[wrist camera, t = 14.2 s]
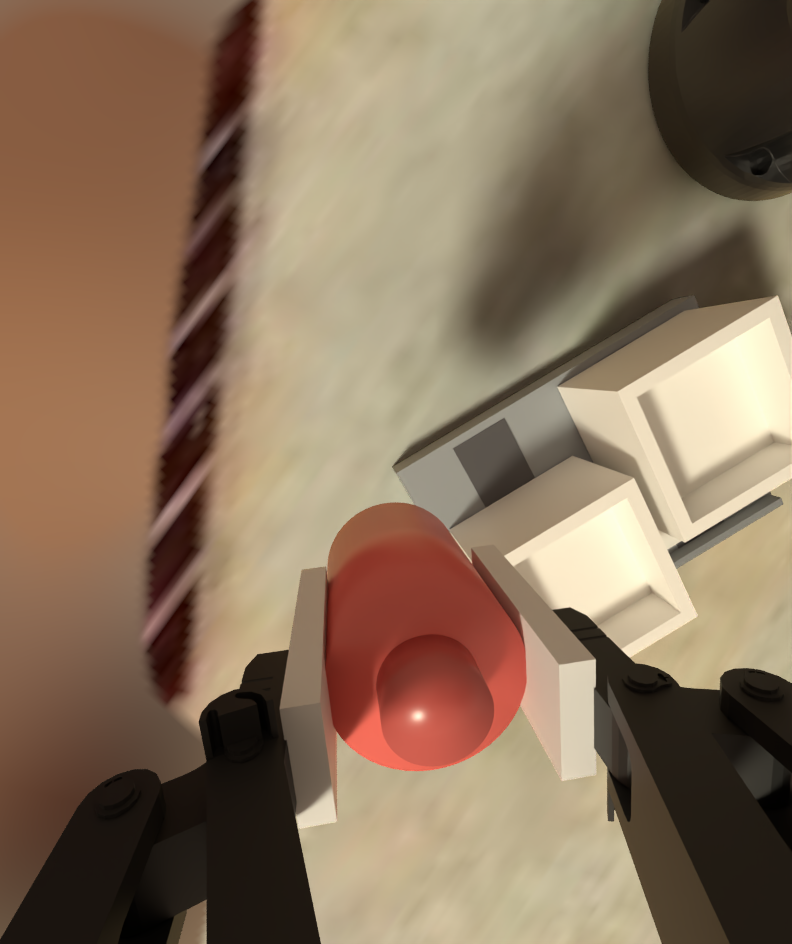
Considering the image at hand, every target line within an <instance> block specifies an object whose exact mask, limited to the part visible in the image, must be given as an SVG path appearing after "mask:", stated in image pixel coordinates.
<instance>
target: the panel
mask: <svg viewBox="0 0 792 944" xmlns="http://www.w3.org/2000/svg"><path fill="white" fill-rule="evenodd" d="M698 308H699V306H698V303H697V301H696V298H695V295H691V296H686V297H681V298H676V299H672V300H670V301H669V302H667V303H665V304H664V305H662V306H660V307H659V308H657V309H655V310H654V311H652V312H650V313H649V314H647V315H645V316H644V317H642V318H640V319H639V320H637V321H635V322H634V323H632V324H630V325H628V326H627V327H625V328H623V329H622V330H620V331H618V332H617V333H615V334H613V335H612V336H610V337H608V338H607V339H605V340H603V341H602V342H600V343H598V344H597V345H595V346H593V347H592V348H590V349H588V350H587V351H585V352H583V353H582V354H580V355H578V356H577V357H575V358H573V359H572V360H570V361H568V362H567V363H565V364H563V365H562V366H560V367H558V368H557V369H555V370H553V371H552V372H550V373H548V374H547V375H545V376H543V377H542V378H540V379H538V380H537V381H535V382H533V383H532V384H530V385H528V386H527V387H525V388H523V389H522V390H520V391H518V392H517V393H515V394H513V395H512V396H510V397H508V398H507V399H505V400H503V401H502V402H500V403H498V404H497V405H495V406H493V407H492V408H490V409H488V410H486V411H485V412H483V413H481V414H480V415H478V416H476V417H475V418H473V419H471V420H470V421H468V422H466V423H465V424H463V425H461V426H460V427H458V428H456V429H455V430H453V431H451V432H450V433H448V434H446V435H445V436H443V437H441V438H440V439H438V440H436V441H435V442H433V443H431V444H430V445H428V446H426V447H425V448H423V449H421V450H420V451H418V452H416V453H415V454H413V455H411V456H410V457H408V458H406V459H405V460H403V461H401V462H400V463H398V464H396V465H395V466H393V467H392V468H393V469H394V471H395V473H396V474H397V476H398V478H399V479H400V481H401V483H402V484H403V486H404V488H405V489H406V491H407V493H408V494H409V496H410V498H411V499H412V501H413V503H414V504H415V506H418V507H421V508H423V509H425V510H427V511H429V512H430V513H432V514H433V515H435V516H436V517H437V518H438V519H439V520H440V521H441V522H442V523H443V524H444V525H445V526H446V528H447V529H448V530H450V529H451V528H453V527H455V526H456V525H458V524H460V523H461V522H463V521H465V520H466V519H468V518H470V517H471V516H473V515H475V514H476V513H478V512H479V511H481V510H483V509H484V508H486V507H488V506H489V505H491V504H493V503H494V502H496V501H498V500H499V499H501V498H503V497H504V496H506V495H508V494H509V493H511V492H513V491H514V490H516V489H518V488H519V487H521V486H523V485H524V484H526V483H528V482H529V481H531V480H533V479H534V478H536V477H538V476H539V475H541V474H543V473H544V472H546V471H548V470H549V469H551V468H553V467H554V466H556V465H558V464H559V463H561V462H563V461H564V460H566V459H568V458H569V457H571V456H575V457H578V458H580V459H583V460H586V461H589V462H591V463H593V461H592V459H591V457H590V454H589V452H588V450H587V448H586V446H585V444H584V442H583V440H582V438H581V436H580V434H579V432H578V429H577V427H576V425H575V423H574V421H573V419H572V417H571V415H570V413H569V411H568V409H567V407H566V404H565V402H564V400H563V398H562V396H561V394H560V392H559V390H558V388H557V387H558V386H559V385H561V384H563V383H564V382H566V381H568V380H569V379H571V378H573V377H574V376H576V375H578V374H579V373H581V372H583V371H584V370H586V369H588V368H589V367H591V366H593V365H594V364H596V363H598V362H599V361H601V360H603V359H604V358H606V357H608V356H609V355H611V354H613V353H614V352H616V351H618V350H619V349H621V348H623V347H624V346H626V345H628V344H629V343H631V342H633V341H634V340H636V339H638V338H639V337H641V336H643V335H645V334H646V333H648V332H650V331H651V330H653V329H655V328H656V327H658V326H660V325H661V324H663V323H665V322H666V321H668V320H670V319H671V318H673V317H675V316H676V315H678V314H680V313H681V312H683V311H685V310H692V309H698ZM781 505H783V502H782V499H781V498H780V497H776V496H773V495H771V492H768V493H767V494H765V495H763V496H762V497H760V498H758V499H757V500H755V501H753V502H752V503H750V504H748V505H747V506H745V507H743V508H742V509H740V510H738V511H737V512H735V513H733V514H732V515H730V516H728V517H727V518H725V519H723V520H722V521H720V522H719V523H717V524H715V525H714V526H712V527H710V528H709V529H707V530H705V531H704V532H702V533H700V534H699V535H697V536H695V537H694V538H692V539H690V540H689V541H687V542H683V541H681V540H678V539H676V538H674V537H672V536H670V535H668V534H666V533H664V532H662V531H660V530H658V531H659V533H660V535H661V537H662V539H663V541H664V544H665V546H666V548H667V550H668V552H669V554H670V557H671V559H672V561H673V563H674V565H675V567H676V569H677V568H679V567H680V566H682V565H683V564H685V563H687V562H688V561H690V560H692V559H693V558H695V557H697V556H698V555H700V554H702V553H703V552H705V551H707V550H708V549H710V548H712V547H713V546H715V545H717V544H718V543H720V542H722V541H723V540H725V539H726V538H728V537H730V536H731V535H733V534H735V533H736V532H738V531H740V530H741V529H743V528H745V527H746V526H748V525H750V524H751V523H753V522H755V521H756V520H758V519H760V518H761V517H763V516H765V515H766V514H768V513H770V512H771V511H773V510H774V509H776V508H778V507H779V506H781ZM449 532H450V531H449Z"/></svg>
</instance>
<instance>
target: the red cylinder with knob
mask: <svg viewBox="0 0 792 944" xmlns="http://www.w3.org/2000/svg"><path fill="white" fill-rule="evenodd" d="M327 579H328V596H327V629H326V661H325V670H326V677H327V685H328V692H329V700H330V707H331V714H332V722H333V726H334V728H335V730H336V731H337V732H338V734H339V735H340V737H341V738H342V739H343V740H344V741H345V742H346V743H347V744H348V745H349V746H350V747H351V748H352V749H353V750H355V751H356V752H357V753H358V754H360V755H361V756H363V757H365V758H366V759H368V760H370V761H372V762H375V763H377V764H379V765H382V766H385V767H389V768H393V769H399V770H405V771H425V770H434V769H439V768H444V767H447V766H451V765H454V764H457V763H459V762H461V761H464V760H466V759H468V758H470V757H472V756H474V755H475V754H477V753H479V752H480V751H482V750H483V749H484V748H486V747H487V746H489V745H490V744H491V743H492V742H493V741H494V740H495V739H496V738H498V737H499V736H500V735H501V733H502V732H503V731H504V730H505V729H506V728H507V726H508V725H509V723H510V722H511V721H512V719H513V718H514V716H515V714H516V712H517V710H518V708H519V706H520V704H521V701H522V699H523V696H524V693H525V688H526V683H527V675H526V651H525V646H524V644H523V641H522V638H521V636H520V634H519V632H518V630H517V628H516V626H515V625H514V623H513V622H512V620H511V619H510V618H509V616H508V615H507V613H506V612H505V610H504V609H503V608H502V606H501V605H500V603H499V602H498V600H497V599H496V598H495V596H494V595H493V593H492V592H491V590H490V589H489V588H488V586H487V585H486V583H485V582H484V580H483V579H482V578H481V576H480V575H479V573H478V572H477V570H476V569H475V568H474V566H473V565H472V563H471V562H470V560H469V559H468V558H467V556H466V555H465V553H464V552H463V550H462V549H461V548H460V546H459V545H458V543H457V542H456V540H455V539H454V538H453V536H452V535H451V533H450V532H449V530H448V529H447V528H446V526H445V525H444V524H443V523H442V522H441V521H440V520H439V519H438V518H437V517H436V516H435V515H433V514H432V513H430V512H429V511H427V510H425V509H423V508H421V507H418V506H415V505H411V504H407V503H385V504H379V505H376V506H372V507H370V508H368V509H365V510H363V511H362V512H360V513H358V514H357V515H355V516H354V517H353V518H351V519H350V520H349V521H348V522H347V523H346V524H345V525H344V526H343V527H342V528H341V530H340V531H339V532H338V534H337V536H336V537H335V539H334V541H333V544H332V546H331V549H330V552H329V557H328V567H327Z"/></svg>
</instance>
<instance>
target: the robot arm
mask: <svg viewBox="0 0 792 944" xmlns="http://www.w3.org/2000/svg"><path fill="white" fill-rule="evenodd" d="M648 73H649V88H650V96H651V102H652V107H653V111H654V115H655V118H656V121H657V124H658V127H659V130H660V132H661V134H662V137H663V139H664V141H665V143H666V145H667V147H668V148H669V150H670V152H671V153H672V155H673V156H674V158H675V159H676V160H677V162H678V163H679V164H680V165H681V167H682V168H683V169H684V170H685V171H686V172H687V173H688V174H689V175H690V176H691V177H692V178H693V179H695V180H696V181H697V182H699V183H700V184H701V185H703V186H704V187H706V188H708V189H709V190H711V191H713V192H715V193H717V194H720V195H723V196H725V197H729V198H732V199H738V200H746V201H760V200H768V199H773V198H777V197H781V196H784V195H787V194H789V193H792V0H661V3H660V6H659V8H658V12H657V15H656V18H655V22H654V26H653V30H652V36H651V41H650V50H649V64H648ZM471 555H472V565H473V566H474V568H475V569H476V570H477V572H478V573H479V575H480V576H481V578H482V579H483V580H484V582H485V583H486V585H487V586H488V588H489V589H490V590H491V592H492V593H493V595H494V596H495V598H496V599H497V600H498V602H499V603H500V605H501V606H502V608H503V609H504V610H505V612H506V613H507V615H508V616H509V618H510V619H511V620H512V622H513V623H514V625H515V626H516V628H517V630H518V632H519V634H520V636H521V638H522V641H523V644H524V646H525V651H526V675H527V683H526V688H525V693H524V696H523V699H522V701H521V704H520V706H521V708H522V709H523V711H524V713H525V715H526V717H527V718H528V720H529V722H530V724H531V726H532V728H533V729H534V731H535V733H536V735H537V737H538V739H539V740H540V742H541V744H542V746H543V748H544V750H545V751H546V753H547V755H548V757H549V759H550V761H551V762H552V764H553V766H554V768H555V770H556V772H557V773H558V775H559V777H560V779H561V781H565V780H570V779H576V778H581V777H587V776H592V775H596V751H597V753H598V754H599V756H600V757H601V759H602V760H603V762H604V763H605V765H606V766H607V814H608V821H614V810H615V811H616V813H617V816H618V819H619V822H620V825H621V828H622V831H623V834H624V836H625V839H626V842H627V845H628V848H629V851H630V854H631V856H632V859H633V862H634V865H635V868H636V871H637V874H638V877H639V879H640V882H641V885H642V888H643V891H644V894H645V897H646V899H647V902H648V905H649V908H650V911H651V914H652V917H653V919H654V922H655V925H656V928H657V931H658V934H659V937H660V940H661V942H662V944H792V683H790V682H788V681H786V680H785V679H783V678H781V677H779V676H777V675H774V674H771V673H768V672H765V671H762V670H757V669H756V670H755V669H749V668H741V669H732V670H729V671H726V672H724V674H723V675H722V676H721V678H720V690H710V689H693V688H684V687H680V686H679V685H678V683H677V682H676V681H675V680H674V679H673V678H672V677H671V676H670V675H669V674H667V673H665V672H664V671H662V670H660V669H658V668H655V667H652V666H648V665H645V664H635V663H634V662H633V661H632V660H631V659H630V658H629V657H628V656H627V655H626V654H625V653H624V652H623V651H622V650H621V649H620V648H619V647H618V646H617V645H616V644H615V643H614V642H613V641H612V640H611V639H610V638H609V637H607V636H606V634H605V633H604V632H603V631H602V630H601V629H600V628H598V627H597V625H596V624H595V623H594V622H593V621H592V620H591V619H590V618H589V617H588V616H587V615H585V614H583V613H581V612H579V611H577V610H575V609H573V608H571V607H568V608H561V609H554V610H552V609H551V608H550V607H549V606H548V605H547V604H546V603H545V602H544V601H543V599H542V598H541V597H540V596H539V595H538V594H537V593H536V592H535V590H534V589H533V588H532V587H531V586H530V585H529V584H528V583H527V581H526V580H525V579H524V578H523V577H522V576H521V575H520V574H519V572H518V571H517V570H516V569H515V568H514V567H513V566H512V565H511V563H510V562H509V561H508V560H507V559H506V558H505V557H504V556H503V554H502V553H501V552H500V551H499V550H498V549H497V548H496V547H495V545H486V546H479V547H471ZM327 596H328V579H327V571H326V567H319V568H311V569H304V570H302V571H301V577H300V584H299V590H298V596H297V602H296V609H295V615H294V621H293V627H292V634H291V640H290V646H289V650H284V651H277V652H270V653H264V654H257V655H256V657H255V658H254V659H253V660H252V661H251V662H250V663H249V664H248V665H247V667H246V668H245V672H244V675H243V678H242V684H241V685H240V689H236V690H233V691H230V692H228V693H225V694H223V695H221V696H219V697H218V698H216V699H215V700H213V701H212V702H210V703H209V704H208V706H207V707H206V708H205V709H204V710H203V711H202V713H201V716H200V719H199V726H200V731H201V736H202V741H203V746H204V750H205V755H206V760H207V762H206V763H205V764H203V765H202V766H200V767H199V768H197V769H195V770H193V771H191V772H189V773H187V774H185V775H183V776H180V777H178V778H175V779H173V780H170V781H168V782H165V783H163V784H161V782H160V780H159V778H158V776H157V774H156V773H154V772H152V771H150V770H148V769H135V770H130V771H127V772H123V773H120V774H117V775H115V776H113V777H112V778H110V779H108V780H106V781H104V782H102V783H101V784H100V785H98V786H97V787H96V788H95V789H93V790H92V791H91V792H90V793H89V794H88V795H87V796H86V797H85V799H84V800H83V801H82V802H81V804H80V805H79V806H78V807H77V809H76V811H75V813H74V814H73V816H72V818H71V819H70V821H69V823H68V825H67V826H66V828H65V830H64V831H63V833H62V835H61V837H60V838H59V840H58V842H57V843H56V845H55V847H54V848H53V850H52V852H51V854H50V855H49V857H48V859H47V860H46V862H45V864H44V866H43V867H42V869H41V871H40V872H39V874H38V876H37V877H36V879H35V881H34V883H33V884H32V886H31V888H30V889H29V891H28V893H27V895H26V896H25V898H24V900H23V901H22V903H21V905H20V907H19V908H18V910H17V912H16V913H15V915H14V917H13V919H12V920H11V922H10V924H9V925H8V927H7V929H6V931H5V932H4V934H3V936H2V937H1V939H0V944H178V942H179V939H180V935H181V931H182V928H183V924H184V920H185V916H186V913H187V909H189V908H191V907H192V906H195V905H197V904H199V903H200V902H202V901H204V900H206V899H207V944H321V942H320V937H319V932H318V927H317V922H316V917H315V912H314V907H313V902H312V897H311V893H310V888H309V883H308V878H307V873H306V868H305V863H304V858H303V853H302V848H301V843H300V838H299V833H298V828H297V823H296V818H295V816H296V815H297V821H298V827H299V829H300V828H306V827H311V826H317V825H322V824H328V823H333V822H337V737H336V730H335V728H334V726H333V722H332V714H331V707H330V700H329V692H328V685H327V677H326V670H325V661H326V629H327Z"/></svg>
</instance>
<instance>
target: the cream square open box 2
mask: <svg viewBox="0 0 792 944" xmlns="http://www.w3.org/2000/svg"><path fill="white" fill-rule="evenodd" d="M449 531H450V533H451V535H452V536H453V538H454V539H455V540H456V542H457V543H458V545H459V546H460V548H461V549H462V550H463V552H464V553H465V555H466V556H467V558H468V559H469V560H470V562H471V563H472V555H471V547H479V546H486V545H495V547H496V548H497V549H498V550H499V551H500V552H501V553H502V554H503V556H504V557H505V558H506V559H507V560H508V561H509V562H510V563H511V565H512V566H513V567H514V568H515V569H516V570H517V571H518V572H519V574H520V575H521V576H522V577H523V578H524V579H525V580H526V581H527V583H528V584H529V585H530V586H531V587H532V588H533V589H534V590H535V592H536V593H537V594H538V595H539V596H540V597H541V598H542V599H543V601H544V602H545V603H546V604H547V605H548V606H549V607H550V608H551V609H552V610H554V609H561V608H568V607H571V608H573V609H575V610H577V611H579V612H581V613H583V614H585V615H587V616H588V617H589V618H590V619H591V620H592V621H593V622H594V623H595V624H596V625H597V627H598V628H600V629H601V630H602V631H603V632H604V633H605V634H606V636H607V637H609V638H610V639H611V640H612V641H613V642H614V643H615V644H616V645H617V646H618V647H619V648H620V649H621V650H622V651H623V652H624V653H625V654H626V655H627V656H628V657H629V658H630V657H631V656H633V655H635V654H636V653H638V652H640V651H641V650H643V649H645V648H646V647H648V646H650V645H651V644H653V643H655V642H656V641H658V640H659V639H661V638H663V637H664V636H666V635H668V634H669V633H671V632H673V631H674V630H676V629H678V628H679V627H681V626H683V625H684V624H686V623H688V622H689V621H691V620H692V619H694V618H696V617H697V616H698V615H697V613H696V611H695V609H694V607H693V604H692V602H691V600H690V598H689V596H688V594H687V591H686V589H685V587H684V585H683V583H682V580H681V578H680V576H679V574H678V572H677V570H676V567H675V565H674V563H673V561H672V559H671V557H670V554H669V552H668V550H667V548H666V546H665V544H664V541H663V539H662V537H661V535H660V533H659V531H658V528H657V526H656V524H655V522H654V520H653V518H652V515H651V513H650V511H649V509H648V507H647V505H646V502H645V500H644V498H643V496H642V494H641V492H640V489H639V487H638V485H637V483H636V481H635V479H634V478H633V477H631V476H628V475H625V474H622V473H619V472H617V471H614V470H611V469H608V468H605V467H603V466H600V465H597V464H594V463H591V462H589V461H586V460H583V459H580V458H578V457H575V456H571V457H569V458H568V459H566V460H564V461H563V462H561V463H559V464H558V465H556V466H554V467H553V468H551V469H549V470H548V471H546V472H544V473H543V474H541V475H539V476H538V477H536V478H534V479H533V480H531V481H529V482H528V483H526V484H524V485H523V486H521V487H519V488H518V489H516V490H514V491H513V492H511V493H509V494H508V495H506V496H504V497H503V498H501V499H499V500H498V501H496V502H494V503H493V504H491V505H489V506H488V507H486V508H484V509H483V510H481V511H479V512H478V513H476V514H475V515H473V516H471V517H470V518H468V519H466V520H465V521H463V522H461V523H460V524H458V525H456V526H455V527H453V528H451V529H450V530H449Z"/></svg>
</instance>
